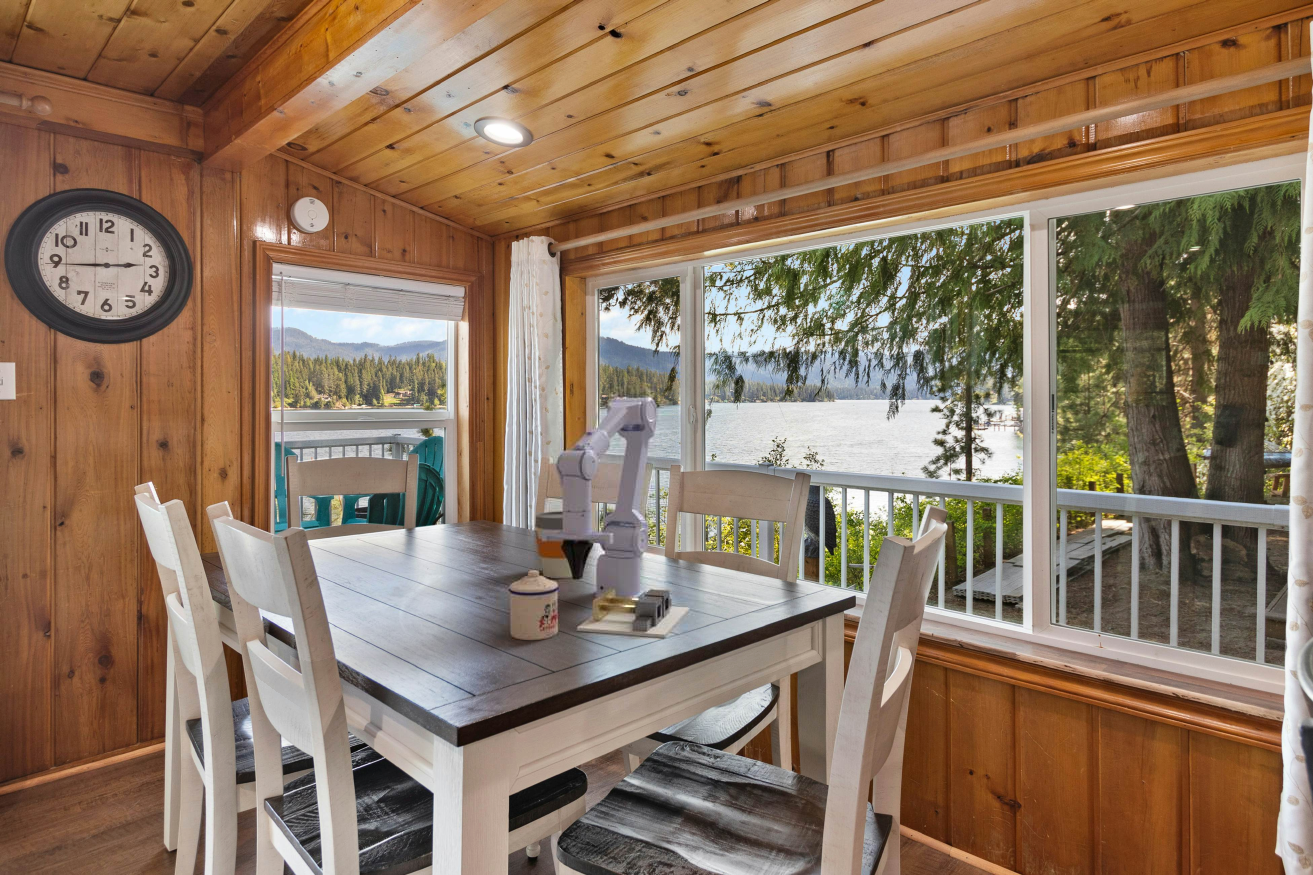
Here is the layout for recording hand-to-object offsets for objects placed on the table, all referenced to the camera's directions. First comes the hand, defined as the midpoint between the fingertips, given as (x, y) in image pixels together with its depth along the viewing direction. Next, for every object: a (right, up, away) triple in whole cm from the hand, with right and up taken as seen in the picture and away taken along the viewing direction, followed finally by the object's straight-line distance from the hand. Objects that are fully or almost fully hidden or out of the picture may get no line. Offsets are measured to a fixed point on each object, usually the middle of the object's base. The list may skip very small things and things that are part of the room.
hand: (577, 578), depth 149 cm
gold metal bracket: (+9, -7, -2) cm, 11 cm away
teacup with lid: (-6, -8, -10) cm, 14 cm away
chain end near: (+14, -7, -8) cm, 18 cm away
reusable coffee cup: (-8, -6, +38) cm, 40 cm away
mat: (+12, -8, -3) cm, 14 cm away
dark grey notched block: (+16, -7, 0) cm, 18 cm away
